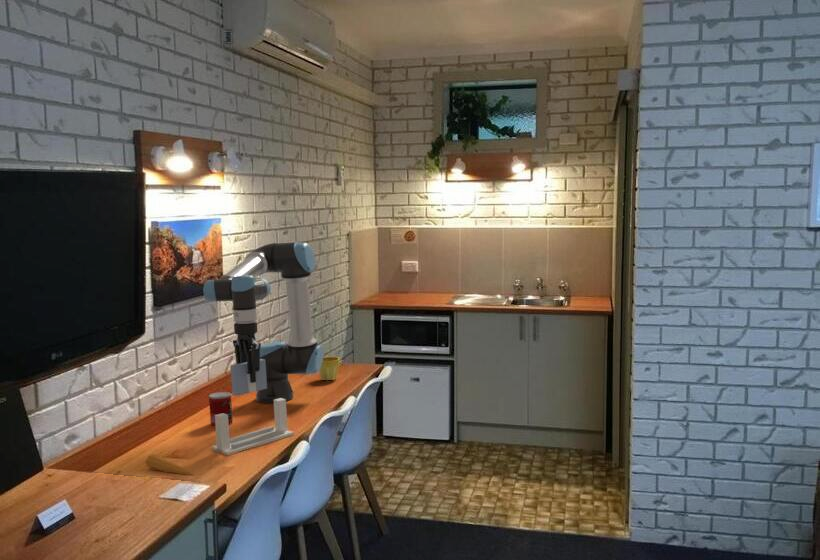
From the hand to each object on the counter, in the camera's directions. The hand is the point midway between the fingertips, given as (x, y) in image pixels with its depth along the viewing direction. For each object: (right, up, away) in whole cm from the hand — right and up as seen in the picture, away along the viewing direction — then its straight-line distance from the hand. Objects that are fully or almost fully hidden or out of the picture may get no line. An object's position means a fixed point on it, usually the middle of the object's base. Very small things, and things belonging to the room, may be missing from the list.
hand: (249, 391), depth 242 cm
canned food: (-16, -16, +24) cm, 33 cm away
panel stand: (+1, -17, +1) cm, 17 cm away
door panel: (0, 0, 0) cm, 0 cm away
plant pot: (+17, -8, +86) cm, 88 cm away
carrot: (-18, -21, -25) cm, 37 cm away
